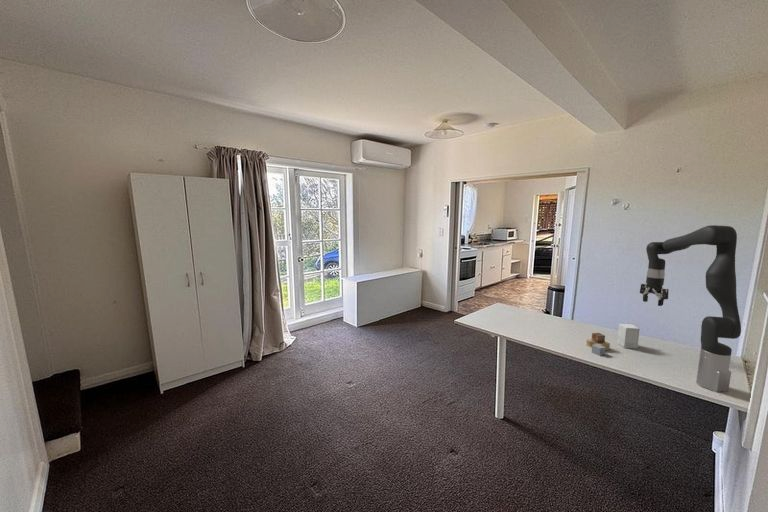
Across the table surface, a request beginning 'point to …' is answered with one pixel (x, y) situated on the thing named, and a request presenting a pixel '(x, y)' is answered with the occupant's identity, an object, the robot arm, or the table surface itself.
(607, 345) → the oak base block
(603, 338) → the walnut cube
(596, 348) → the grey painted cube
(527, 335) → the table surface
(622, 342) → the supplement box
